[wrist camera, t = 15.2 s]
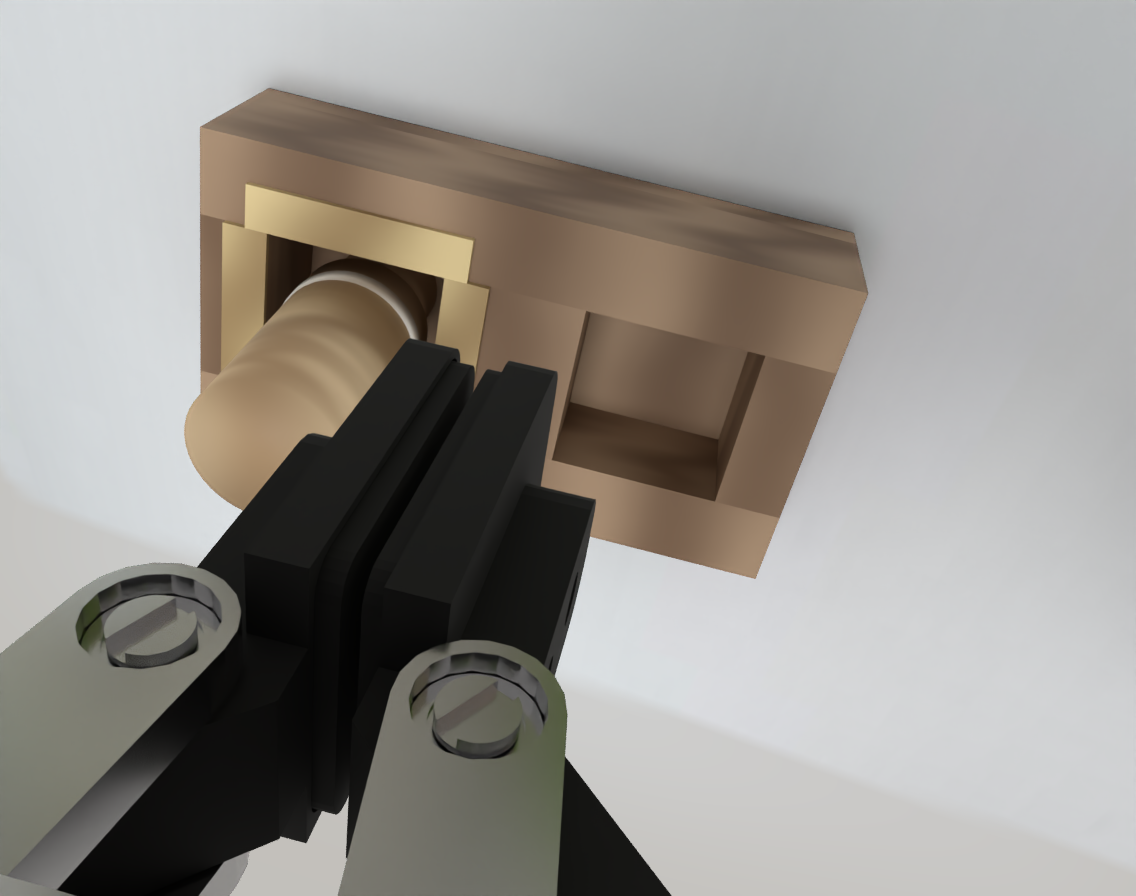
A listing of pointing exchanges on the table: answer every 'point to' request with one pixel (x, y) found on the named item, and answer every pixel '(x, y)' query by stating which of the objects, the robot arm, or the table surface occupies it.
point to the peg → (304, 370)
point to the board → (556, 303)
